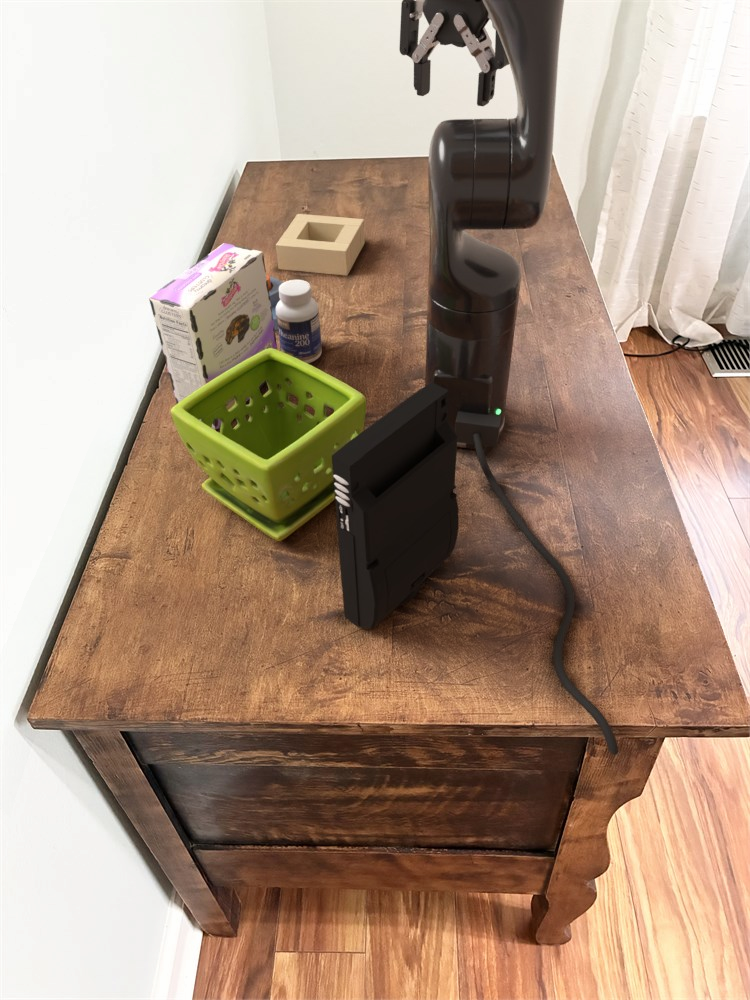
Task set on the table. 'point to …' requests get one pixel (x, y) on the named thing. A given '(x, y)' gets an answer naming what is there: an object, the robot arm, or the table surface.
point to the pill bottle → (298, 321)
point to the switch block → (274, 298)
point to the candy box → (214, 318)
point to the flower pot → (270, 439)
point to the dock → (321, 244)
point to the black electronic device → (395, 505)
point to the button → (268, 281)
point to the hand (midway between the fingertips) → (452, 99)
